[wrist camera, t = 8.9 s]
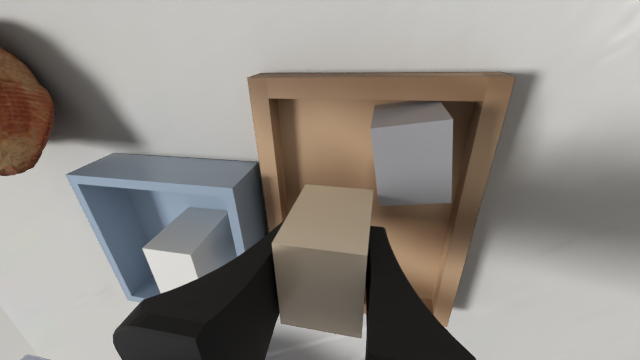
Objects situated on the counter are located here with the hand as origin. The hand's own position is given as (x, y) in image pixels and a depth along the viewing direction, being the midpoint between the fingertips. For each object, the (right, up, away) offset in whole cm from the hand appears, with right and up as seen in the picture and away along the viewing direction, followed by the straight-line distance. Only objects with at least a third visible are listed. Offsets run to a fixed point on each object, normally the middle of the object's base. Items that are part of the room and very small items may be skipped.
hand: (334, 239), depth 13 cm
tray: (+2, +1, +5) cm, 6 cm away
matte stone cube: (+4, +5, +2) cm, 7 cm away
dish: (-10, -1, +9) cm, 13 cm away
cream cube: (0, +1, +1) cm, 1 cm away
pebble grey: (-9, -1, +8) cm, 12 cm away
